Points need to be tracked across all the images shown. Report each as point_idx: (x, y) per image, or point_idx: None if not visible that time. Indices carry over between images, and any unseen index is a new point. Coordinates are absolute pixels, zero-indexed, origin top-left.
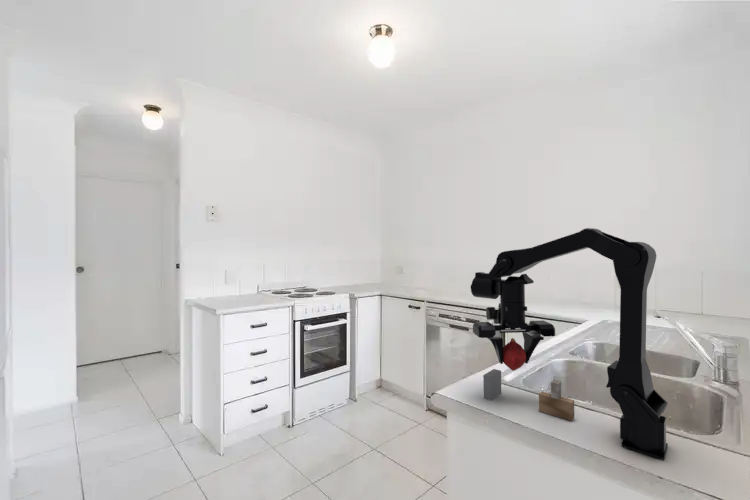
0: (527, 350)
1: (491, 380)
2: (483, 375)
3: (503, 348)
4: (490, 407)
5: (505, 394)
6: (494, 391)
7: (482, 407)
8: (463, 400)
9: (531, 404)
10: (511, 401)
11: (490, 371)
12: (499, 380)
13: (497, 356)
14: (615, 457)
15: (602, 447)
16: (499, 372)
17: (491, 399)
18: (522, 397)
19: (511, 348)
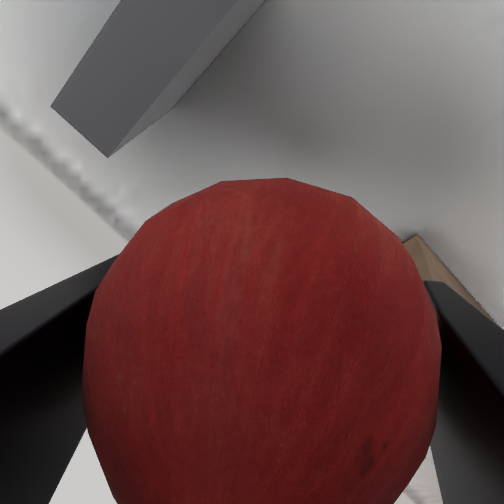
0: (456, 492)
1: (129, 136)
2: (53, 107)
3: (83, 407)
4: (152, 188)
5: (300, 12)
6: (191, 81)
7: (112, 184)
8: (17, 92)
9: (392, 178)
10: (292, 129)
11: (127, 5)
12: (237, 17)
13: (66, 285)
14: (422, 487)
15: (428, 459)
16: (222, 21)
17: (175, 104)
18: (397, 75)
19: None
